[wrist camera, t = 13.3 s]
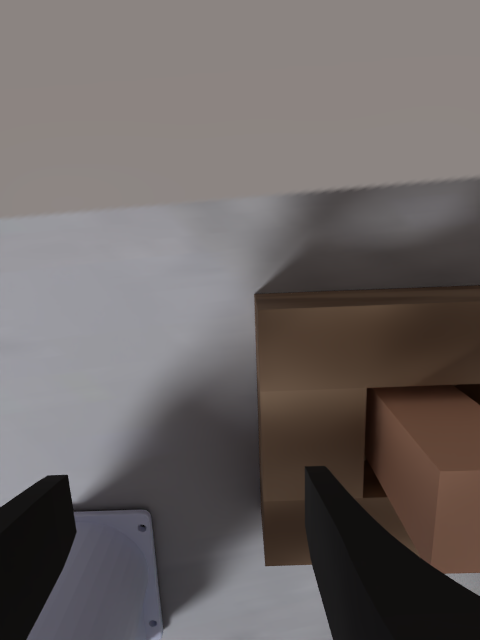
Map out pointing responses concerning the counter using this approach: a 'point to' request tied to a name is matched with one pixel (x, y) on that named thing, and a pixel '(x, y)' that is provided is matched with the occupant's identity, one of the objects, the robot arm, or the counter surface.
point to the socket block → (347, 390)
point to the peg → (429, 468)
